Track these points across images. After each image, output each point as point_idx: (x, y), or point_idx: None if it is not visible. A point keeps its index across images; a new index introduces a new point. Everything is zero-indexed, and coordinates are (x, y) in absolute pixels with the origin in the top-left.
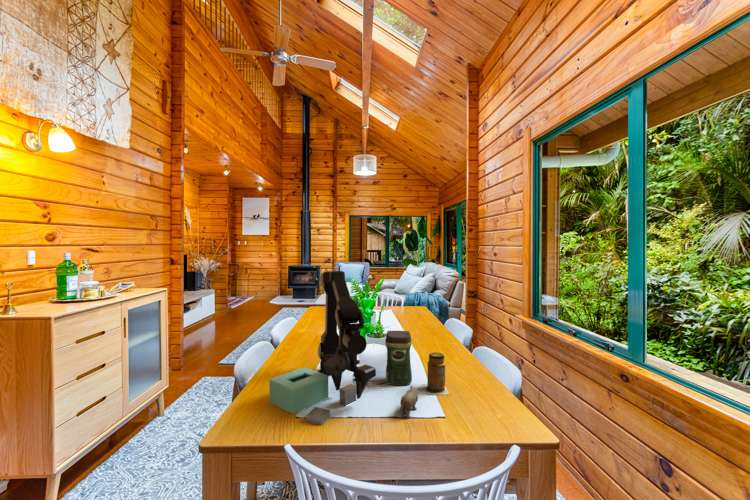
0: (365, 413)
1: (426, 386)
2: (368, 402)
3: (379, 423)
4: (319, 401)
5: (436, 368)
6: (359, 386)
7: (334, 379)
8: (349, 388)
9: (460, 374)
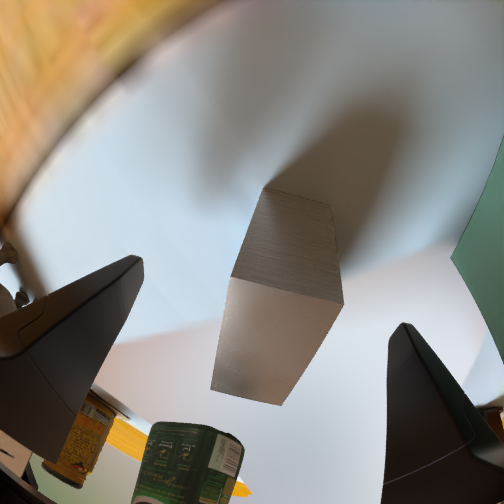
0: (85, 173)
1: (116, 411)
2: (164, 300)
3: (3, 133)
4: (491, 182)
5: None
6: (7, 315)
7: (451, 406)
8: (225, 340)
9: (120, 439)
